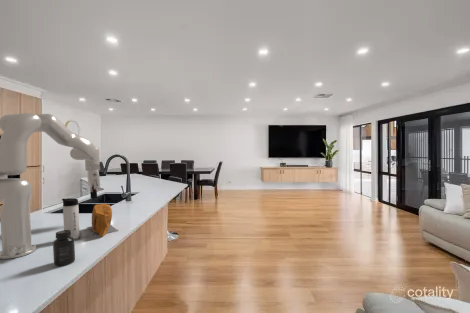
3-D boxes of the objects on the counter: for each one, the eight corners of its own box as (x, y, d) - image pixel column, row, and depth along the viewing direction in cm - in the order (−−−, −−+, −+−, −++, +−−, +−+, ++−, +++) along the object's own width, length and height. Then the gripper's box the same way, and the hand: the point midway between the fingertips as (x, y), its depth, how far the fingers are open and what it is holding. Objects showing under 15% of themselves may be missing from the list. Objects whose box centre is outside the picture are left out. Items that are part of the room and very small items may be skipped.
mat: (118, 231, 135) (118, 230, 135) (94, 235, 128) (94, 235, 128) (108, 223, 150) (108, 223, 150) (87, 227, 143) (87, 227, 143)
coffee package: (88, 224, 142) (89, 239, 123) (93, 202, 142) (95, 214, 123) (108, 225, 147) (111, 240, 128) (112, 204, 147) (117, 215, 128)
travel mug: (65, 238, 126) (63, 197, 125) (80, 236, 128) (79, 196, 127) (61, 242, 120) (60, 200, 119) (78, 240, 122) (76, 198, 122)
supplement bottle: (79, 258, 101) (77, 228, 101) (68, 266, 94) (67, 234, 94) (61, 259, 101) (60, 229, 101) (49, 267, 94) (47, 234, 94)
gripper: (102, 167, 149) (103, 199, 149) (96, 166, 160) (98, 195, 161) (87, 168, 144) (89, 201, 145) (83, 167, 156) (84, 197, 156)
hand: (93, 198), depth 153 cm, fingers closed
